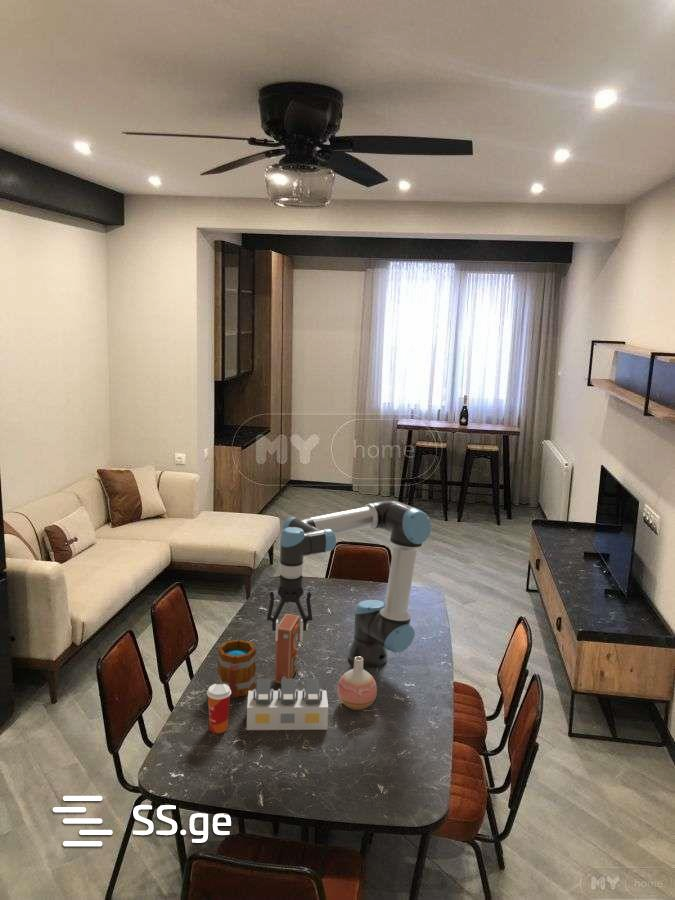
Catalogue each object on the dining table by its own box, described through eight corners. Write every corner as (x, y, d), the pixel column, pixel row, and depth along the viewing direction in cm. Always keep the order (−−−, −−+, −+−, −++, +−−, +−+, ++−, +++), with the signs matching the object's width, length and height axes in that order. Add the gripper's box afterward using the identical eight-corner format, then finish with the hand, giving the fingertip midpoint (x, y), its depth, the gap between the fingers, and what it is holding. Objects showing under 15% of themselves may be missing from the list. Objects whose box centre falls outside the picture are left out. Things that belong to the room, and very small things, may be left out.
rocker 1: (271, 682, 234) (271, 678, 233) (270, 704, 226) (270, 699, 225) (256, 682, 234) (256, 678, 233) (255, 704, 226) (255, 699, 225)
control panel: (300, 666, 267) (289, 687, 253) (282, 664, 269) (271, 684, 254) (302, 614, 263) (291, 631, 248) (284, 611, 264) (272, 629, 250)
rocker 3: (319, 681, 235) (319, 677, 234) (320, 703, 228) (320, 699, 227) (304, 681, 235) (304, 677, 234) (305, 703, 227) (305, 699, 226)
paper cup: (207, 721, 230) (208, 682, 227) (231, 721, 231) (232, 682, 228) (205, 735, 222) (205, 695, 220) (229, 735, 223) (230, 695, 220)
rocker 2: (295, 681, 235) (295, 677, 234) (295, 703, 227) (295, 699, 226) (280, 682, 234) (280, 678, 233) (280, 703, 227) (280, 699, 226)
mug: (220, 676, 258) (220, 638, 255) (257, 677, 258) (257, 639, 255) (211, 706, 239) (212, 666, 236) (251, 707, 239) (252, 667, 236)
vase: (348, 720, 234) (350, 671, 231) (329, 699, 246) (331, 653, 242) (383, 711, 241) (386, 663, 237) (363, 691, 252) (366, 645, 249)
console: (325, 711, 238) (326, 681, 236) (327, 730, 228) (328, 698, 226) (248, 712, 236) (248, 681, 234) (246, 730, 226) (247, 699, 224)
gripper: (321, 570, 235) (318, 634, 240) (260, 570, 233) (258, 633, 238) (322, 579, 228) (320, 644, 232) (259, 578, 226) (257, 644, 231)
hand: (288, 639), depth 235 cm, fingers open, 8 cm apart
